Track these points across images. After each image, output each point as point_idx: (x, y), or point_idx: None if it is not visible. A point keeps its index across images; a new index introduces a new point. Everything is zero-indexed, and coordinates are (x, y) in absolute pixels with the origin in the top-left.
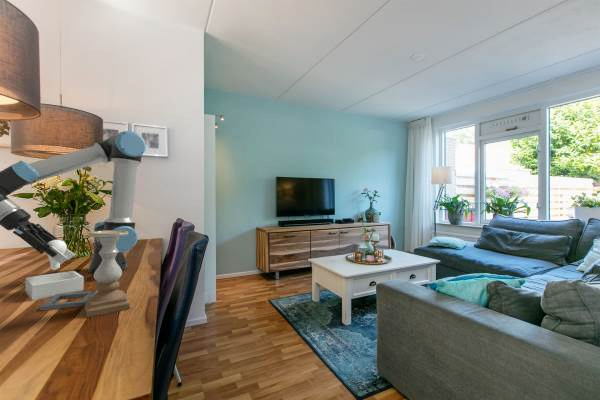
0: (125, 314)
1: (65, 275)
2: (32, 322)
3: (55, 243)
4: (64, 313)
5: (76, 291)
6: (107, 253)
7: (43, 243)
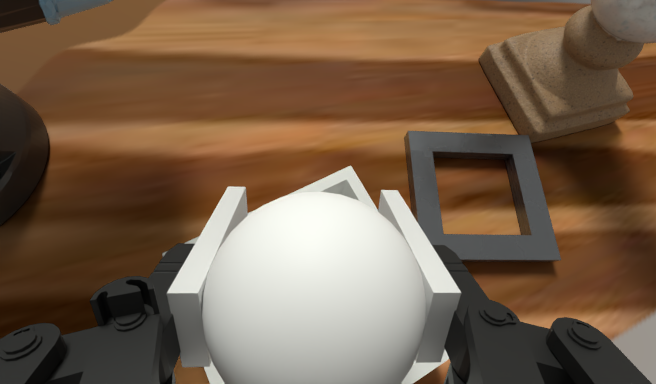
0: None
1: None
2: (640, 241)
3: (412, 266)
4: (578, 181)
5: None
6: None
7: (588, 369)
